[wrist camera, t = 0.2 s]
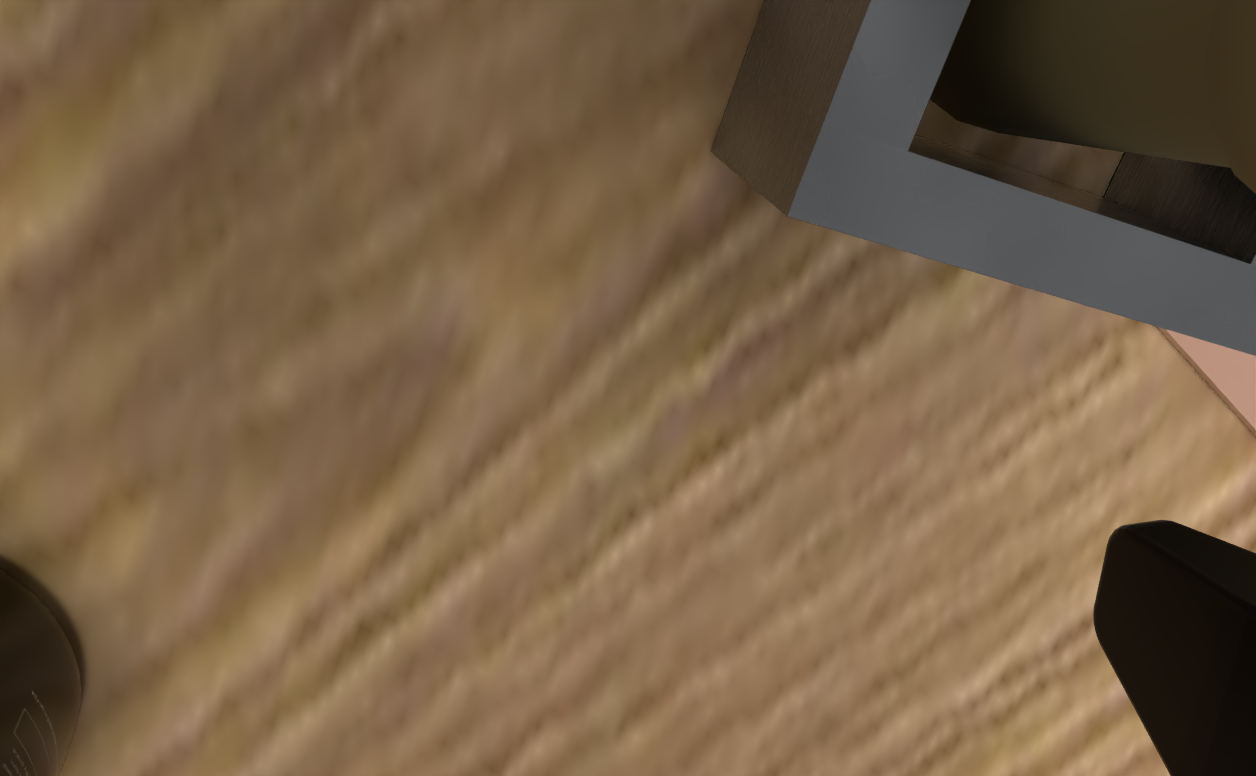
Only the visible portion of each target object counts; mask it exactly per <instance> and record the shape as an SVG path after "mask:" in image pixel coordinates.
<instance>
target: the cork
mask: <svg viewBox="0 0 1256 776" xmlns="http://www.w3.org/2000/svg"><path fill="white" fill-rule="evenodd" d="M930 99H931V100H932V101H933V102H935V103H936V104H937V105H938V106H940V107H941V108H942V109H943V110H945V111H946V112H947V113H949V114H950V115H951V116H952V117H954V118H955V119H956V120H957V121H961V122H964V123H967V124H970V125H974V126H977V127H980V128H984V129H987V130H990V131H994V132H997V133H1003V134H1009V135H1016V136H1022V137H1029V138H1036V139H1042V140H1049V141H1056V142H1062V143H1069V144H1075V145H1082V146H1089V147H1095V148H1102V149H1109V150H1115V151H1122V152H1128V153H1135V154H1142V155H1148V156H1155V157H1162V158H1168V159H1175V160H1182V161H1188V162H1195V163H1201V164H1208V165H1215V166H1221V167H1228V168H1231V169H1232V171H1233V173H1234V175H1235V176H1236V177H1237V178H1238V179H1240V180H1241V181H1242V182H1243V183H1244V184H1245V185H1246V186H1247V187H1249V188H1250V189H1251V190H1252V191H1253V192H1254V193H1255V194H1256V0H971V1H970V3H969V6H968V8H967V10H966V13H965V15H964V18H963V20H962V22H961V25H960V27H959V30H958V32H957V34H956V37H955V39H954V42H953V44H952V46H951V49H950V51H949V54H948V56H947V58H946V61H945V63H944V66H943V68H942V70H941V73H940V75H939V78H938V80H937V82H936V85H935V87H934V89H933V92H932V94H931V97H930Z"/></svg>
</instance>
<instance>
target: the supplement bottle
mask: <svg viewBox="0 0 1256 776" xmlns="http://www.w3.org/2000/svg"><path fill="white" fill-rule="evenodd" d="M80 704H81V681H80V674H79V668H78V664H77V660H76V657H75V654H74V651H73V649H72V646H71V644H70V642H69V640H68V638H67V636H66V634H65V633H64V631H63V629H62V628H61V626H60V624H59V623H58V622H57V620H56V619H55V618H54V616H53V615H52V613H51V612H50V611H49V610H48V609H47V608H46V607H45V606H44V604H43V603H42V602H41V601H40V600H39V599H38V598H37V597H35V596H34V595H33V594H32V593H31V592H30V591H29V590H28V589H26V588H25V587H24V586H22V585H21V584H20V583H18V582H17V581H16V580H14V579H13V578H11V577H10V576H8V575H6V574H5V573H3V572H2V571H0V776H60V773H61V771H62V768H63V765H64V762H65V759H66V755H67V752H68V750H69V747H70V744H71V741H72V738H73V735H74V732H75V729H76V725H77V720H78V716H79V711H80Z"/></svg>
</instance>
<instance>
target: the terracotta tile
mask: <svg viewBox="0 0 1256 776" xmlns="http://www.w3.org/2000/svg"><path fill="white" fill-rule="evenodd" d="M1156 327H1157V326H1156ZM1157 328H1158V329H1159V330H1160V331H1161V332H1162V333H1163V335H1164V336H1165V337H1166V338H1167V339H1168V340H1169V341H1170V342H1171V343H1172V345H1173V346H1174V347H1175V348H1176V349H1177V350H1178V351H1179V352H1180V353H1181V354H1182V356H1183V357H1184V358H1185V359H1186V360H1187V361H1188V362H1189V363H1190V364H1191V366H1192V367H1193V368H1194V369H1195V370H1196V371H1197V372H1198V373H1199V374H1200V375H1201V377H1202V378H1203V379H1204V380H1205V381H1206V382H1207V383H1208V384H1209V385H1210V387H1211V388H1212V389H1213V390H1214V391H1215V392H1216V393H1217V394H1218V395H1219V397H1220V398H1221V399H1222V400H1223V401H1224V402H1225V403H1226V404H1227V405H1228V406H1229V408H1230V409H1231V410H1232V411H1233V412H1234V413H1235V414H1236V415H1237V416H1238V418H1239V419H1240V420H1241V421H1242V422H1243V423H1244V424H1245V425H1246V426H1247V427H1248V429H1249V430H1250V431H1251V432H1252V433H1253V434H1254V435H1255V436H1256V356H1254V355H1251V354H1247V353H1244V352H1241V351H1237V350H1234V349H1231V348H1227V347H1224V346H1221V345H1217V344H1214V343H1210V342H1207V341H1204V340H1200V339H1197V338H1194V337H1190V336H1187V335H1184V334H1180V333H1177V332H1174V331H1170V330H1167V329H1164V328H1160V327H1157Z"/></svg>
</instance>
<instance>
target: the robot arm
mask: <svg viewBox="0 0 1256 776" xmlns="http://www.w3.org/2000/svg"><path fill="white" fill-rule="evenodd" d="M1094 626H1095V631H1096V634H1097V637H1098V640H1099V642H1100V645H1101V647H1102V649H1103V650H1104V652H1105V654H1106V656H1107V658H1108V660H1109V662H1110V664H1111V665H1112V667H1113V669H1114V671H1115V673H1116V675H1117V677H1118V678H1119V680H1120V682H1121V684H1122V686H1123V688H1124V690H1125V691H1126V693H1127V695H1128V697H1129V699H1130V701H1131V703H1132V705H1133V706H1134V708H1135V710H1136V712H1137V714H1138V716H1139V718H1140V719H1141V721H1142V723H1143V725H1144V727H1145V729H1146V731H1147V732H1148V734H1149V736H1150V738H1151V740H1152V742H1153V744H1154V746H1155V747H1156V749H1157V751H1158V753H1159V755H1160V757H1161V759H1162V760H1163V762H1164V764H1165V766H1166V768H1167V770H1168V772H1169V773H1170V775H1171V776H1256V553H1254V552H1251V551H1248V550H1246V549H1243V548H1241V547H1238V546H1235V545H1233V544H1230V543H1228V542H1225V541H1222V540H1220V539H1217V538H1215V537H1212V536H1210V535H1207V534H1204V533H1202V532H1199V531H1197V530H1194V529H1191V528H1189V527H1186V526H1184V525H1181V524H1179V523H1176V522H1173V521H1168V520H1156V521H1149V522H1142V523H1135V524H1128V525H1123V526H1121V527H1119V528H1117V529H1116V530H1115V531H1114V532H1113V533H1112V535H1111V536H1110V538H1109V540H1108V544H1107V548H1106V553H1105V557H1104V562H1103V567H1102V572H1101V576H1100V581H1099V586H1098V591H1097V596H1096V600H1095V605H1094Z"/></svg>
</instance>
